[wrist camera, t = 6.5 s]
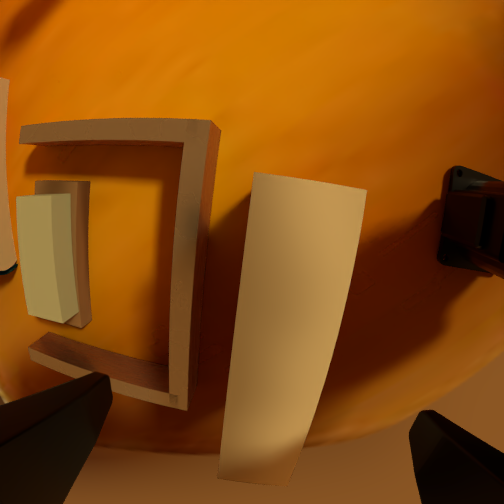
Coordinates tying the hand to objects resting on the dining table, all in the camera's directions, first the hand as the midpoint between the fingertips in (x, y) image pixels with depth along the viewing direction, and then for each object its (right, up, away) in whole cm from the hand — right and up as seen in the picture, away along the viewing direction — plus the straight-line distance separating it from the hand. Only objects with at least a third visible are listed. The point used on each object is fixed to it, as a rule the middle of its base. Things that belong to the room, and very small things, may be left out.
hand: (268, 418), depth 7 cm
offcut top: (-14, +4, +11) cm, 18 cm away
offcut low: (-14, +5, +12) cm, 19 cm away
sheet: (+1, +3, +11) cm, 12 cm away
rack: (-9, +4, +12) cm, 16 cm away
